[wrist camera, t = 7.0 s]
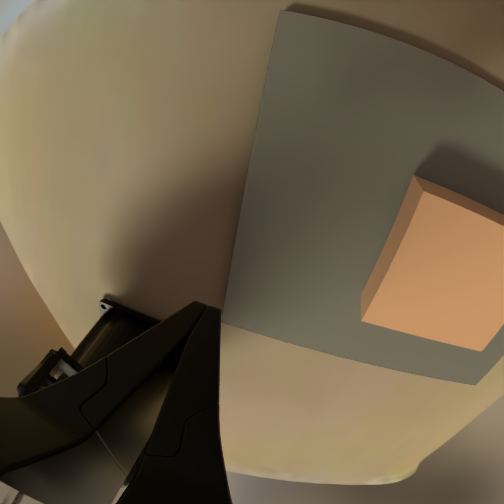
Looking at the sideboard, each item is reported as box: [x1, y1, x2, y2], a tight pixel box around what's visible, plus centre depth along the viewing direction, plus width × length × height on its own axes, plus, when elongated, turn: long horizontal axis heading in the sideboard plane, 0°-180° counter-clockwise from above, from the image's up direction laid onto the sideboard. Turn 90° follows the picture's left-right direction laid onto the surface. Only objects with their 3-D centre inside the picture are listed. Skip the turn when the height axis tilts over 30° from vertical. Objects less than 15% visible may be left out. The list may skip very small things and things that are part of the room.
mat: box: [221, 10, 504, 385], centre depth 15 cm, size 20×18×1 cm
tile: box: [361, 175, 504, 352], centre depth 13 cm, size 2×7×8 cm
